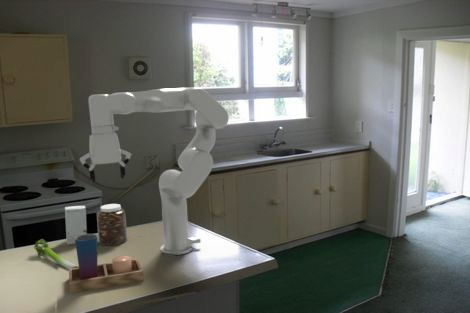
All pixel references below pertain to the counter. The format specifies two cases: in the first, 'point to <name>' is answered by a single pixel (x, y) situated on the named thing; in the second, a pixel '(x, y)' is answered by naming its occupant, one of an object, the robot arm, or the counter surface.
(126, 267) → the peach capsule shape
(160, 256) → the counter surface
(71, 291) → the caddy
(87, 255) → the cup
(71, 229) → the skincare box
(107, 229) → the jar
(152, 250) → the counter surface
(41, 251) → the leek
